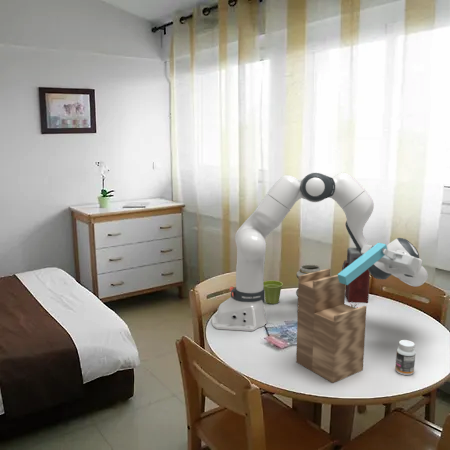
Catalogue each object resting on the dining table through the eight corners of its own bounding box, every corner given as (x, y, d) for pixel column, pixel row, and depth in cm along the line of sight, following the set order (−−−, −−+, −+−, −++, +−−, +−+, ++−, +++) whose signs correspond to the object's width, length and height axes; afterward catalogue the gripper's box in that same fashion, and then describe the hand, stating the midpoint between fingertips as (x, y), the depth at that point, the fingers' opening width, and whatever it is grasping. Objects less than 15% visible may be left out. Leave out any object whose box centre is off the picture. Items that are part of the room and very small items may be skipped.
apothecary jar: (290, 303, 215) (291, 264, 211) (312, 298, 220) (313, 261, 216) (306, 312, 204) (307, 272, 200) (328, 307, 209) (330, 268, 206)
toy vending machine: (340, 295, 224) (342, 237, 219) (364, 296, 223) (367, 237, 218) (342, 302, 216) (345, 241, 210) (368, 302, 214) (371, 242, 209)
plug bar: (347, 285, 151) (345, 276, 149) (339, 282, 153) (337, 274, 152) (387, 252, 160) (386, 244, 159) (380, 250, 162) (378, 242, 161)
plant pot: (268, 307, 210) (269, 288, 208) (257, 300, 218) (257, 282, 217) (286, 303, 214) (286, 285, 213) (274, 297, 223) (275, 279, 221)
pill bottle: (392, 367, 157) (394, 339, 155) (408, 366, 158) (411, 338, 156) (399, 376, 152) (402, 347, 150) (417, 375, 152) (419, 346, 150)
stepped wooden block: (332, 383, 148) (337, 289, 142) (296, 362, 161) (298, 275, 155) (362, 370, 156) (368, 281, 149) (325, 351, 169) (328, 268, 163)
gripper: (376, 249, 176) (356, 234, 168) (427, 261, 159) (407, 246, 151) (370, 264, 175) (349, 251, 167) (420, 279, 159) (399, 264, 150)
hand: (377, 249), depth 159 cm, fingers closed on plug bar, 3 cm apart
